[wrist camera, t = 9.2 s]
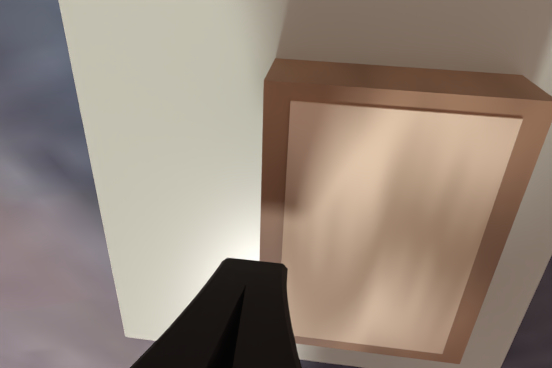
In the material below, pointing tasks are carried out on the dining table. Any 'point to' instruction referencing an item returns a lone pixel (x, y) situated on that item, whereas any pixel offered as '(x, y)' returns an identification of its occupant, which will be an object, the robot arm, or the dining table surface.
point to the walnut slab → (393, 198)
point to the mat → (249, 126)
